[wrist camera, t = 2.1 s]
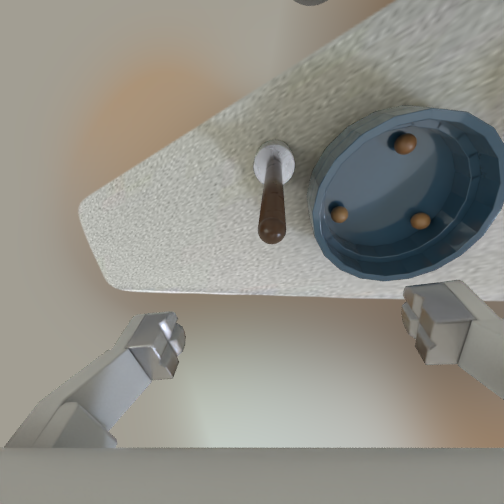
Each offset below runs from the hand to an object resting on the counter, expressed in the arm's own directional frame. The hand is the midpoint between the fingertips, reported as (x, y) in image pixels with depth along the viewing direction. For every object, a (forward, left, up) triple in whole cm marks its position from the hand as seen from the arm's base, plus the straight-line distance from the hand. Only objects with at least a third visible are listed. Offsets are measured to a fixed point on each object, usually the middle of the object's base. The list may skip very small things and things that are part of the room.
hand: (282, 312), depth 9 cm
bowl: (+6, +12, -24) cm, 27 cm away
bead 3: (+10, +16, -22) cm, 29 cm away
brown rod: (0, 0, -24) cm, 24 cm away
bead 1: (+7, +6, -22) cm, 24 cm away
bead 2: (+1, +13, -22) cm, 26 cm away
